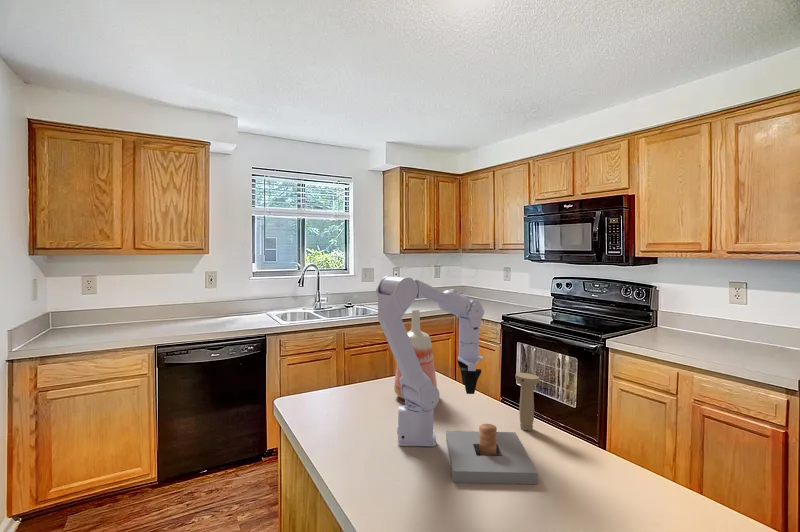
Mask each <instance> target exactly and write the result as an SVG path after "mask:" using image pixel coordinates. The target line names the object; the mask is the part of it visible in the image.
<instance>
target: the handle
mask: <svg viewBox="0 0 800 532" xmlns="http://www.w3.org/2000/svg"><path fill="white" fill-rule="evenodd" d="M515 380H516V381H518V382H519V384H520V395H519V396H520V397H519V407H518V408H519V411H518V412H519V414H518V415H519V422H520V423H519V426H520V429H521V430H522V431H528V432H530V431H532V430H533V429H534V425H533V424H534V419H535V402H534V401H535V400H534V399H535V397H534V385H537V384H538V383H539V382H540V376H538V375H536V374H531V373H527V372H518V373H515Z"/></svg>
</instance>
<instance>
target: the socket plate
mask: <svg viewBox="0 0 800 532" xmlns="http://www.w3.org/2000/svg"><path fill="white" fill-rule="evenodd" d="M445 432H446V433H445V439H446V440H445V442H446V448H447V453H448V454H447V455H448V459H449V466H450V470H451V471H450V472H451V477H452V483H453V484H454V483H457V484H458V483H459V484H503V485H504V484H505V485H539V483H538V482H539V481H538V480H539V472H538V471H537V469H536V467H535V465H534V463H533V461H532V460H531V458H530V456H529V454H528V452H527V451H526V449H525V446H524V445H523V444H522V442H521V440H520V438H519V436H518V434H517V432H516V431H515V432H514V431H512V432H511V431H497V437H496V456H479V431H475V430H474V431H471V430H469V431H468V430H465V431H464V430H460V431H459V430H446V431H445ZM477 454H478V455H477Z"/></svg>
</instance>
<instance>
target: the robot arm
mask: <svg viewBox="0 0 800 532" xmlns="http://www.w3.org/2000/svg"><path fill="white" fill-rule="evenodd" d="M457 292H458V290H456V289H452V288H451V289H446V290H444V291H441V290H439V289H437V288H436V287H433V286H431V285H429V284H428V283H425V282H424V281H421V280H419V279H414V278H412V277H401V276H394V275H386V276H384V277H382V278H381V279H380V281H379V283H378V285H377V288H376V290H375V293H376V295H377V318H378V321H379V324H380V327H381V329H382V332H383V334H384V336H385V338H386V341H387V343H388V345H389V348H390V351H391V353H392V355H393V358H394V360H395V362H396V366H397V365H398V367H399V370H400V372H401V375H402V376H401V378H400V379H399V382H400V384H401V395H402V397H403V398H404V399H405V400H404V399H403V400H404V404H405V405H404V404H403V405H399V406H398V416H397V417H398V418H397V419H398V420H397V423H398V425H397V428H396V435H397V442H398V443H397V445H398V446H399V447H405V446H406V447H436V437H435V431H434V410H435V408H436V406H437V405H438V403H439V401H440V390H439V389H438V386H437V387H435V386H434V385H433V384H432V382H431V379H430V378H429V377H428V376H427V375H426V374H425V373H424V372H423V371H422V368H421V366H420V363H419V361H418V358H417V356H416V353H415V351H414V348H413V346H412V343H411V341H410V338H409V336H408V333H407V332H408V330H407V328H406V326H405V324H404V322H403V316H404V314H406V312H407V311H408V310H409V308H410V307H411V305H412V304H413V302H414V301H415V300H417V299H420V298H423V299H426V300H429V301H432V302H434V303H437V304H438V307H439V308H440V310H442V311H444V312H447V313H450V314H452V315H454V316H456V318H457V319H458V355H457V359H456V362H457V364H458V366H459V370H460V374H461V381H462V385H463V386H464V387H465V389H464V390H465V394H466V395H475V393H476V387H477V383H478V380H479V377H480V375H481V374H482V369H481V368H479V369H477V364H478V363H479V362H480V361H484V357H483V356H481V355H480V327H481V325H482V319H483V317H484V314H485V309H484V308H483V305H482V303H481V302H480V301H478V300H474V299H470V298H469V296H468V295H462V294H460V293H457Z"/></svg>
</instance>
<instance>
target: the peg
mask: <svg viewBox="0 0 800 532" xmlns="http://www.w3.org/2000/svg"><path fill="white" fill-rule="evenodd" d="M478 429H479V430H478V432H479V454H478V456H497V454H496V437H497V432H498V431H497V426H496V425H494V424H493V423H492V424H491V423H481V424H480V425H479V428H478Z"/></svg>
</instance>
